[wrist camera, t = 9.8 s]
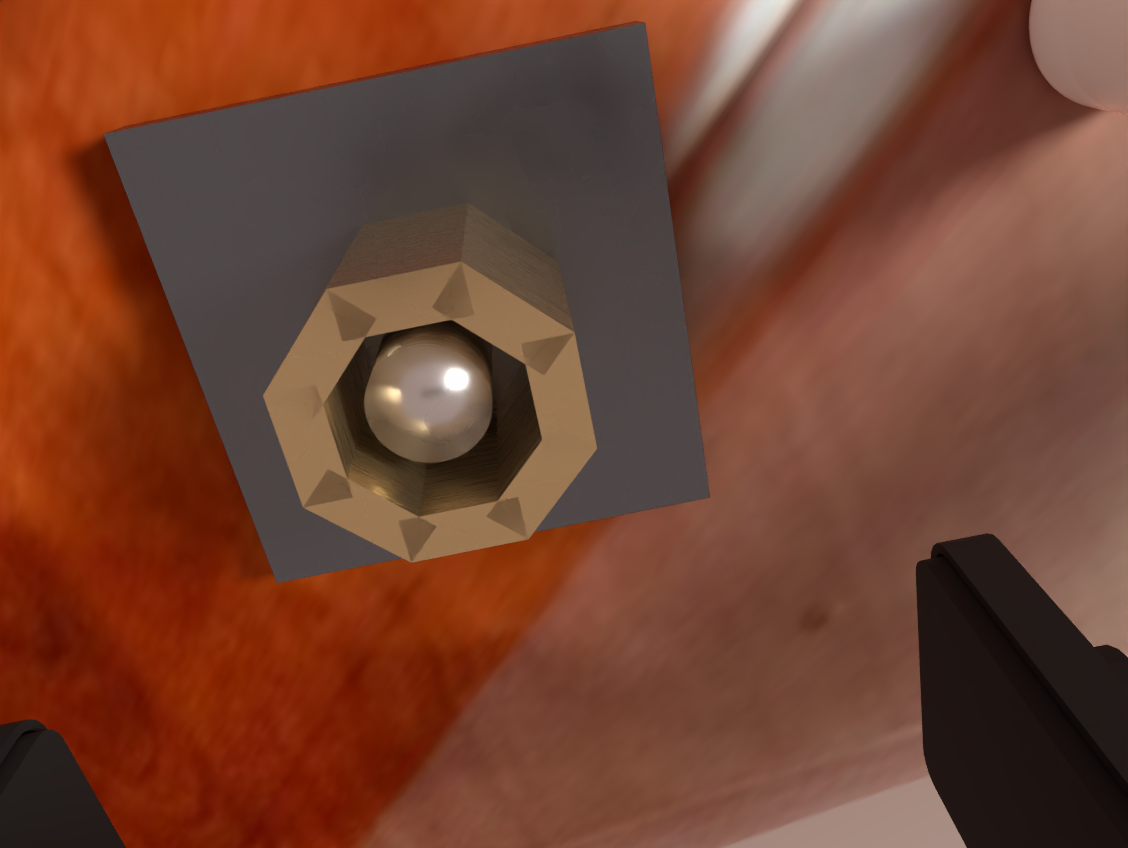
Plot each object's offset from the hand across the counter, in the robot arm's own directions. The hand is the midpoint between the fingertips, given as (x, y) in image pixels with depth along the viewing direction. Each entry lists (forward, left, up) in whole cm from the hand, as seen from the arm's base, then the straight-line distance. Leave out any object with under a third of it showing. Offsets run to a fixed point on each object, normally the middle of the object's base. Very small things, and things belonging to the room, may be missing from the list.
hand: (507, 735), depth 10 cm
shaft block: (+2, +1, -19) cm, 19 cm away
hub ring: (+2, +1, -18) cm, 18 cm away
